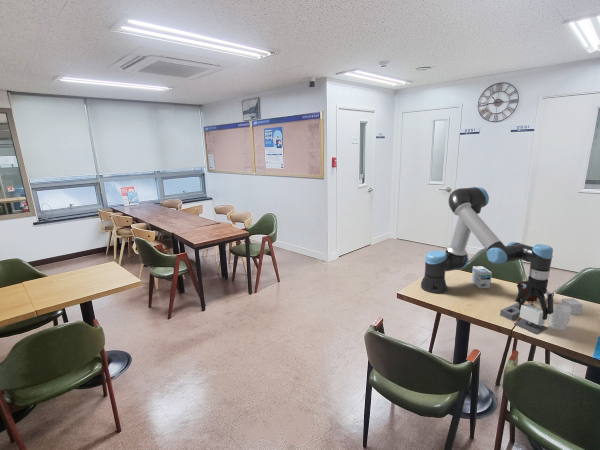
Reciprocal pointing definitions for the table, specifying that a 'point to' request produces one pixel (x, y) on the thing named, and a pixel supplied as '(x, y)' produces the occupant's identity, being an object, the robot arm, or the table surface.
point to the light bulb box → (481, 277)
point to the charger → (531, 313)
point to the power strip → (511, 311)
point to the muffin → (532, 297)
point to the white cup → (559, 317)
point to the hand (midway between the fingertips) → (531, 320)
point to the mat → (530, 326)
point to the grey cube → (573, 305)
